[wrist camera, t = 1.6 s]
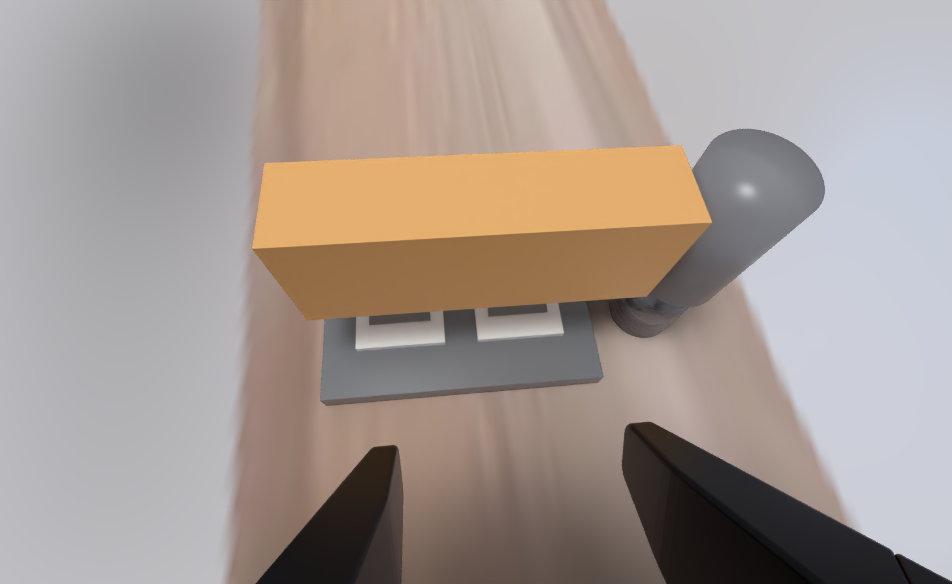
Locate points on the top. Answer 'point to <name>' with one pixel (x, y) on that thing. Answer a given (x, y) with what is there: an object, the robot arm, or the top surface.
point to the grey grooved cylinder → (643, 315)
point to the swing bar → (528, 225)
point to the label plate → (457, 352)
